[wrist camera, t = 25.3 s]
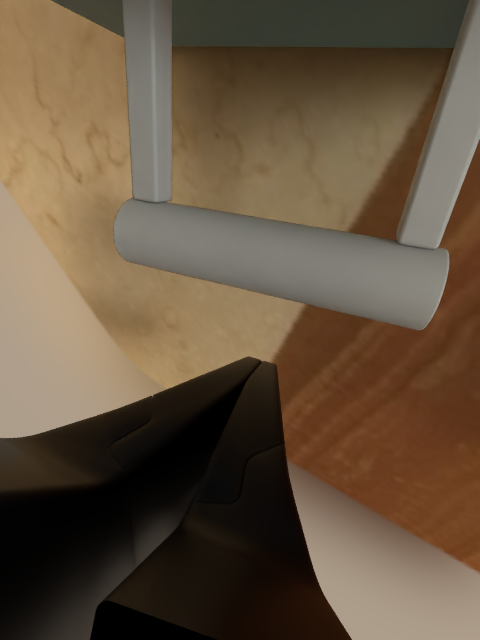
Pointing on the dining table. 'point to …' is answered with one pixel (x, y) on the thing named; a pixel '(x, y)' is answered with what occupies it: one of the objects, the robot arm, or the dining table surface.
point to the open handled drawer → (277, 236)
